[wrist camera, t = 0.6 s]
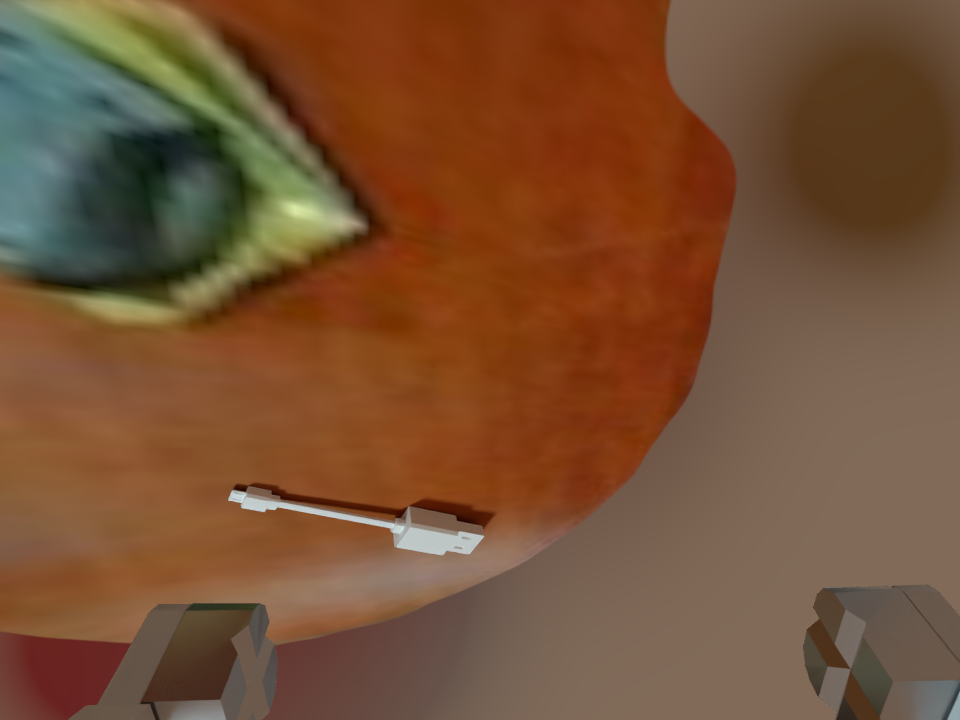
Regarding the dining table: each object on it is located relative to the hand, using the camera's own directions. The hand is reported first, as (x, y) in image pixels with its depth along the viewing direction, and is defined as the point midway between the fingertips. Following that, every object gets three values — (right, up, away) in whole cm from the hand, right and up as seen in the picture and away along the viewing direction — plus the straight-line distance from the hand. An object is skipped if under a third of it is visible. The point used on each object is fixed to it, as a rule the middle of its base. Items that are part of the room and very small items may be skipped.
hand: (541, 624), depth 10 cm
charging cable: (-15, -15, +74) cm, 77 cm away
